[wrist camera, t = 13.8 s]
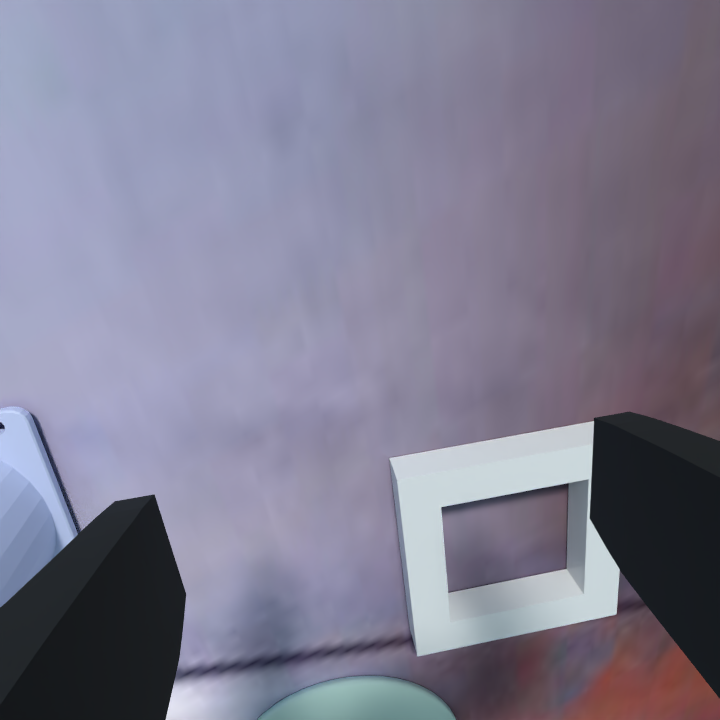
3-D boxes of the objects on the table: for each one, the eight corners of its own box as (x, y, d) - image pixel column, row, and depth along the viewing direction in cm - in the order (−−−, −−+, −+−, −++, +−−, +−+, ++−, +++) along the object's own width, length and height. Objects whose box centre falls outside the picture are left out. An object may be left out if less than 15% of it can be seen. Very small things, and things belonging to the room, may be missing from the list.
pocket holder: (409, 627, 24) (417, 656, 23) (389, 458, 21) (396, 480, 19) (597, 588, 25) (616, 614, 23) (606, 418, 22) (628, 437, 20)
